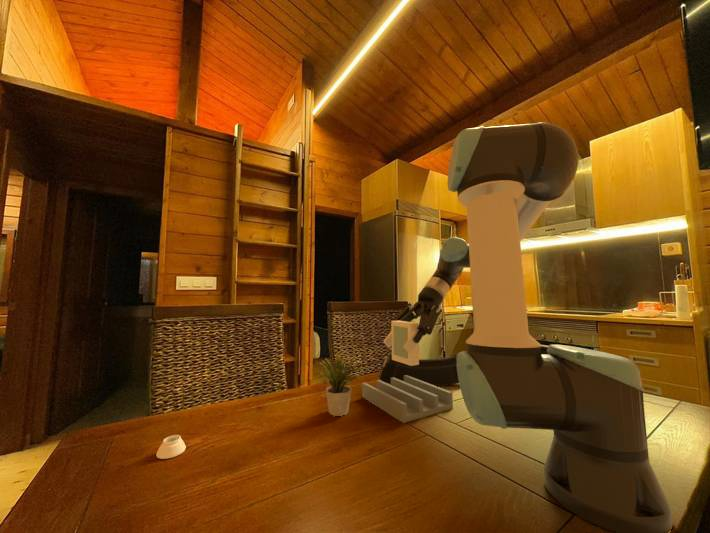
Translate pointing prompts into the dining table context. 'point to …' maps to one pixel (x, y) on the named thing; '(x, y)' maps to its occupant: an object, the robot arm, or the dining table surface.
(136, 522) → the dining table surface
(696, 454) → the dining table surface
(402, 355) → the picture frame
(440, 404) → the notched rack
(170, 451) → the upturned cream bowl
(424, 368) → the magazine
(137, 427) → the dining table surface
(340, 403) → the house plant
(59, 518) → the dining table surface
